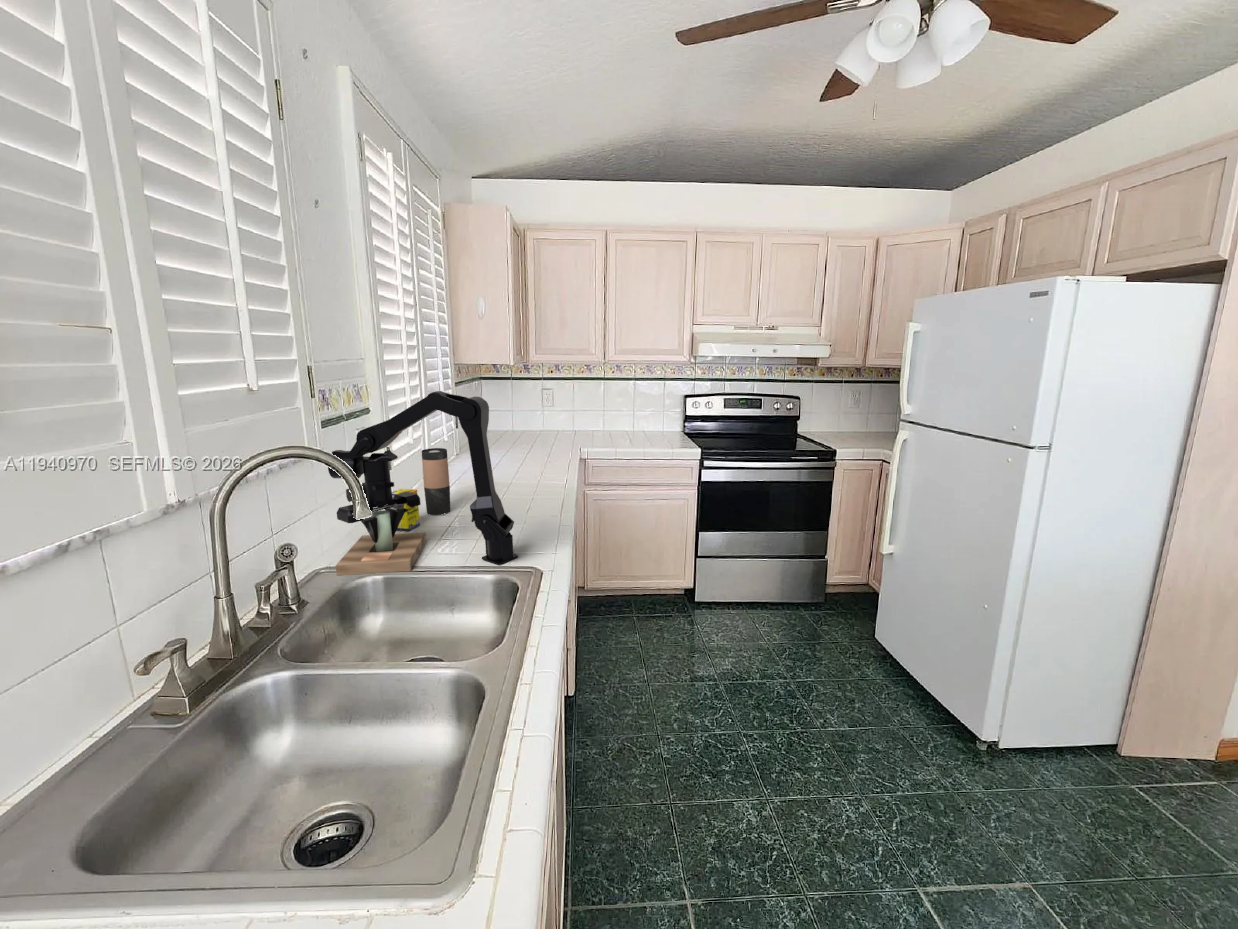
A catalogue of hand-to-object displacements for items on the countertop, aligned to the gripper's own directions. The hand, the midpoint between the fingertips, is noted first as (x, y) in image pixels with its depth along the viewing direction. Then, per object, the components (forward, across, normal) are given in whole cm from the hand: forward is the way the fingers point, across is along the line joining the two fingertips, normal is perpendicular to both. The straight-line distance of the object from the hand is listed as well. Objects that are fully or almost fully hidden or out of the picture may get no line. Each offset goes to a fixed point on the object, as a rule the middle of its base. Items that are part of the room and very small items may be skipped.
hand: (383, 539), depth 131 cm
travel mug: (+5, -31, -21) cm, 38 cm away
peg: (+3, 0, 0) cm, 3 cm away
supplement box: (+5, -16, -16) cm, 23 cm away
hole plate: (+4, 0, 0) cm, 4 cm away
